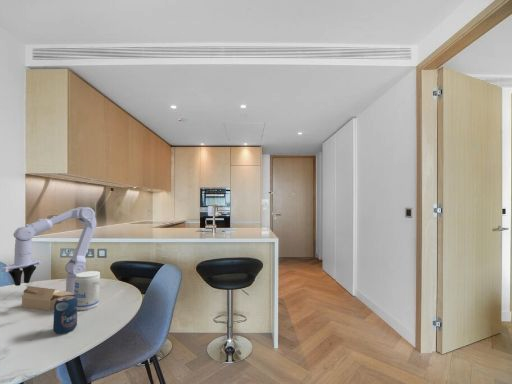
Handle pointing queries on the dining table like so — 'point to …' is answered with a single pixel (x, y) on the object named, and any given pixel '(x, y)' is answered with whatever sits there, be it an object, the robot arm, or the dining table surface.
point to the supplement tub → (87, 289)
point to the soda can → (65, 314)
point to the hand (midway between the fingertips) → (22, 284)
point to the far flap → (38, 293)
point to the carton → (42, 303)
